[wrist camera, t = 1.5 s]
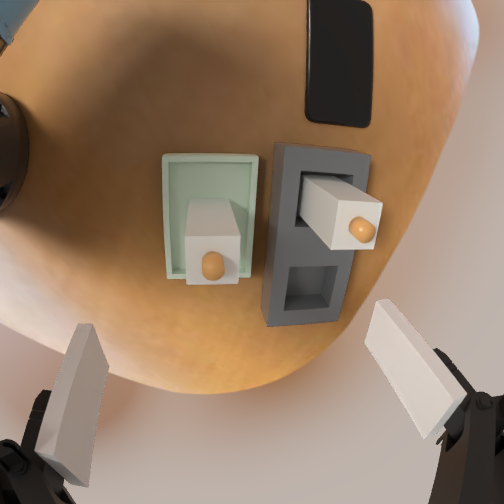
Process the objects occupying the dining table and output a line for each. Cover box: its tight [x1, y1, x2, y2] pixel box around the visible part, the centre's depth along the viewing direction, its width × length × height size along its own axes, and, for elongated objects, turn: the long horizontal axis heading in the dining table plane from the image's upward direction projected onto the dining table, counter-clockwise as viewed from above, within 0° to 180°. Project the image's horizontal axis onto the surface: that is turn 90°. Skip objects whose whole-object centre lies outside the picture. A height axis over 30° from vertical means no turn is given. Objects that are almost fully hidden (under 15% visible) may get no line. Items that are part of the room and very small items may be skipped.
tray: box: [162, 153, 259, 279], centre depth 31 cm, size 9×13×2 cm
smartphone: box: [305, 0, 373, 128], centre depth 26 cm, size 8×1×16 cm
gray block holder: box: [261, 142, 383, 327], centre depth 29 cm, size 9×20×12 cm, turn 176°
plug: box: [185, 199, 241, 285], centre depth 26 cm, size 4×4×12 cm
